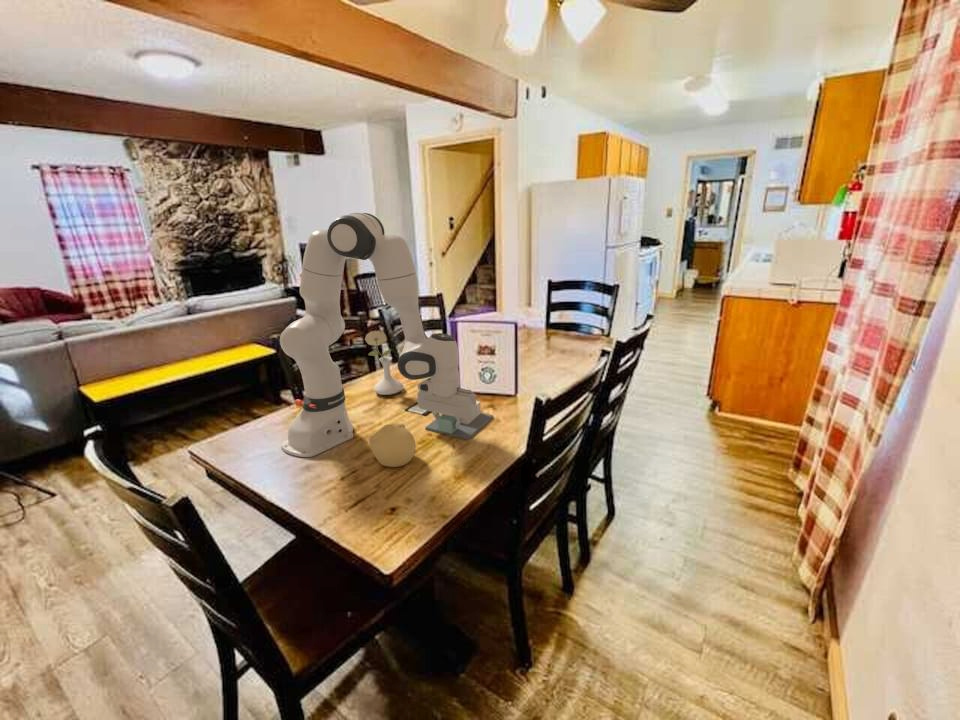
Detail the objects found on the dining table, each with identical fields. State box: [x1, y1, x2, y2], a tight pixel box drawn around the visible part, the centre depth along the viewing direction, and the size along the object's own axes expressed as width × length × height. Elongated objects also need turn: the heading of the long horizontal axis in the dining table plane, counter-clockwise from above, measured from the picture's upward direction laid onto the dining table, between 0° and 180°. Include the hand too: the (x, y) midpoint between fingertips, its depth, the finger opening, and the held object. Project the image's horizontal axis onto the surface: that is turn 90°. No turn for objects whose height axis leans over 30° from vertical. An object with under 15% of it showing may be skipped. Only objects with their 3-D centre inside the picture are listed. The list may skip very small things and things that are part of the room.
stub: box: [438, 414, 457, 434], centre depth 138 cm, size 4×5×4 cm
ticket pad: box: [425, 400, 494, 441], centre depth 144 cm, size 17×16×5 cm
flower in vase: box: [364, 330, 404, 396], centre depth 168 cm, size 13×11×25 cm
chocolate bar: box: [404, 401, 433, 417], centre depth 161 cm, size 9×1×18 cm
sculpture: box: [368, 423, 417, 468], centre depth 123 cm, size 12×12×11 cm
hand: (448, 425), depth 139 cm, fingers closed on stub, 5 cm apart
